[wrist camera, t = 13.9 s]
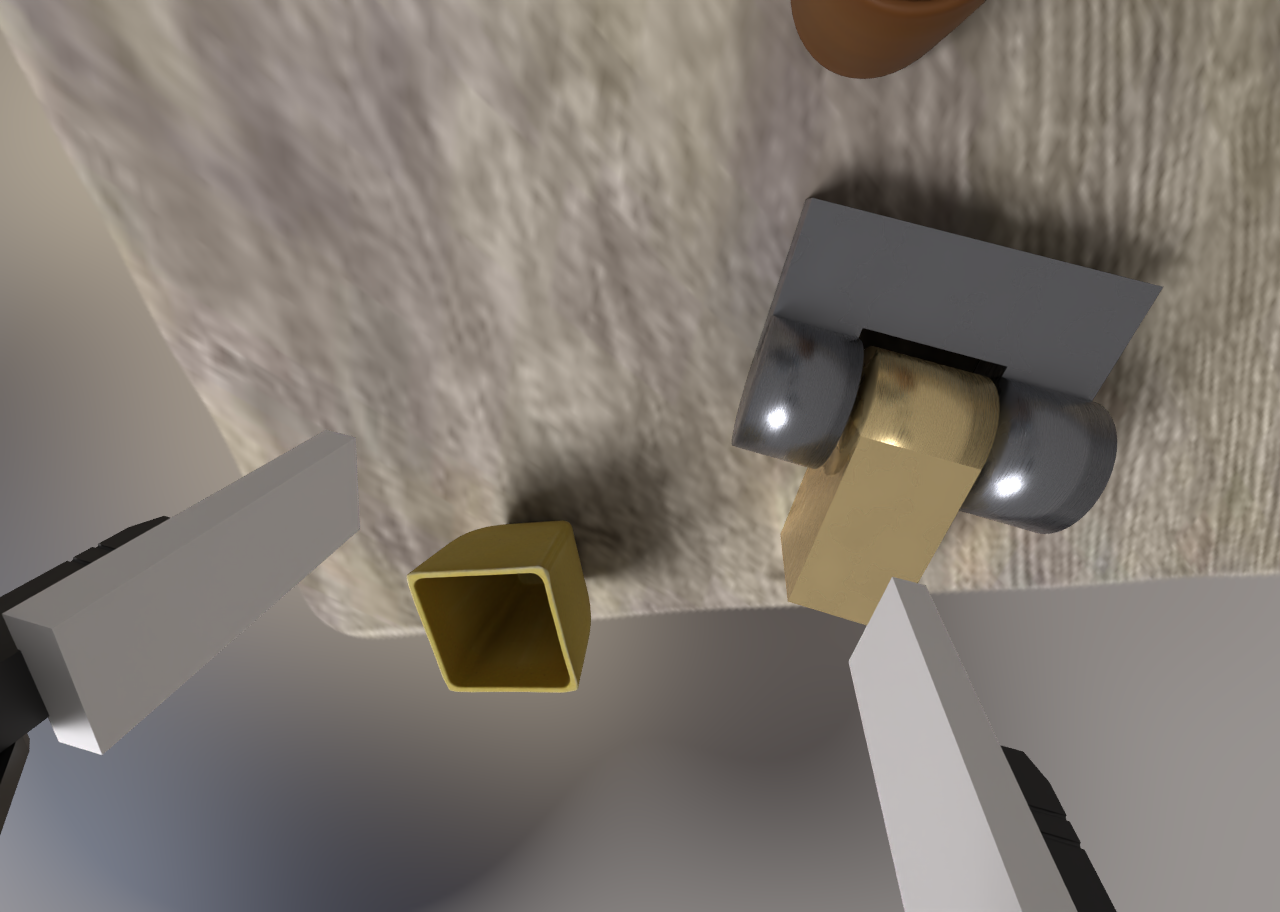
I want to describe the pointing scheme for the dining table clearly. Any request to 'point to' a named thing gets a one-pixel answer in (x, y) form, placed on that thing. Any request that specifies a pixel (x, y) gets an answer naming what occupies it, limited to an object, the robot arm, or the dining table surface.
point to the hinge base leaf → (954, 321)
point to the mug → (875, 31)
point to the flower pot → (506, 608)
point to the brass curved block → (888, 483)
